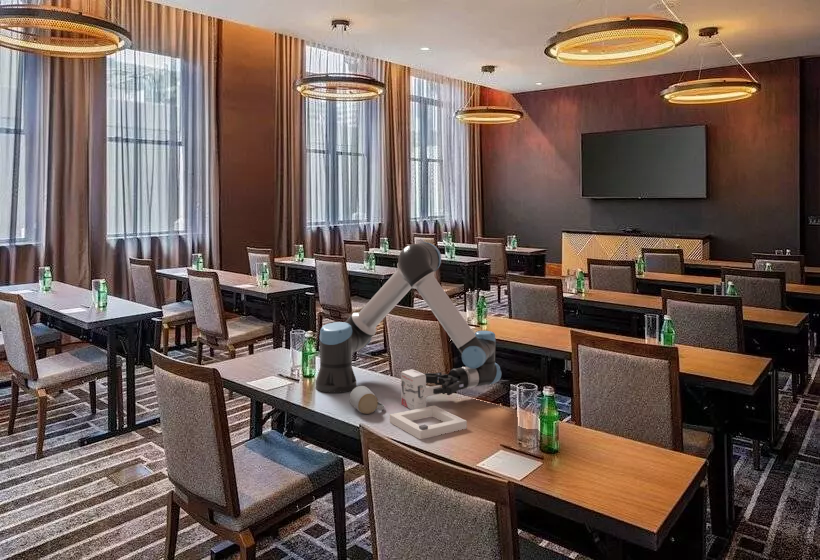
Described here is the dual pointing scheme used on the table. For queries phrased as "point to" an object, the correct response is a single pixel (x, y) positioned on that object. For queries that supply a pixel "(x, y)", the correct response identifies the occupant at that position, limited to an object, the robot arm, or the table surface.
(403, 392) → the ink box
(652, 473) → the table surface
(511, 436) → the table surface
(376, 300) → the robot arm
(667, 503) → the table surface
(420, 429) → the socket plate
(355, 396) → the ceramic mug
